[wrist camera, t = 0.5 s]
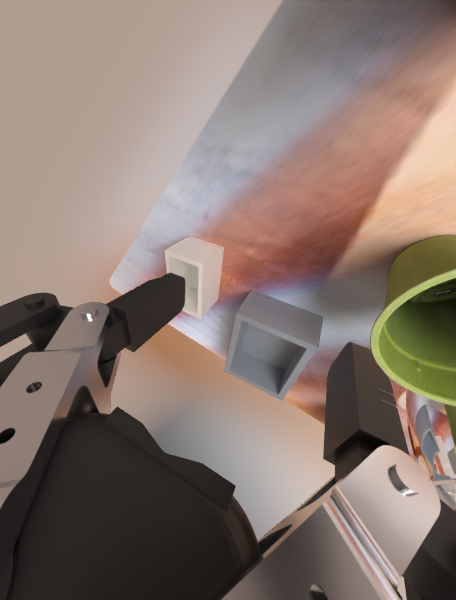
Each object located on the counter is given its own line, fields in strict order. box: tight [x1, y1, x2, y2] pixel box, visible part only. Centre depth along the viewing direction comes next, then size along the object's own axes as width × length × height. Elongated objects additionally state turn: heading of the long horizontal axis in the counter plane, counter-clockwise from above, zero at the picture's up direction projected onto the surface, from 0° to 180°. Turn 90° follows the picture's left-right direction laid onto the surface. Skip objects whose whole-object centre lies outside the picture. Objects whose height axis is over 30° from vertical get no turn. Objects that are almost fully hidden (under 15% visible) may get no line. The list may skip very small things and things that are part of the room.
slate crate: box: [224, 290, 323, 400], centre depth 32 cm, size 11×15×6 cm
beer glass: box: [406, 389, 456, 512], centre depth 19 cm, size 7×7×15 cm
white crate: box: [164, 236, 224, 319], centre depth 31 cm, size 6×10×6 cm, turn 172°
